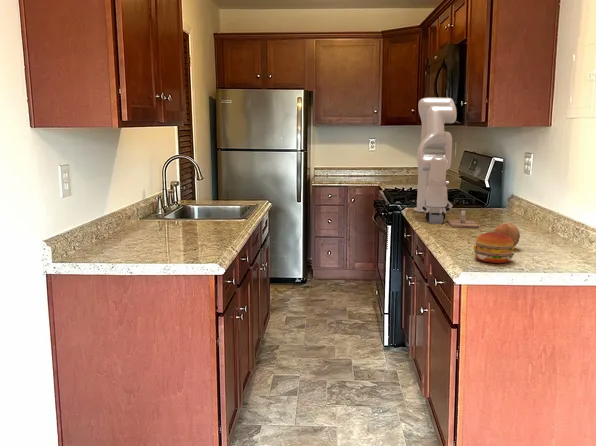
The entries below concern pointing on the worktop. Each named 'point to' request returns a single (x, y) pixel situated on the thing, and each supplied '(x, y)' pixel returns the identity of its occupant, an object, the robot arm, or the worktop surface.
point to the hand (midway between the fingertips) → (435, 220)
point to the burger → (494, 247)
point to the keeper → (462, 222)
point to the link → (435, 218)
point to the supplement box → (434, 210)
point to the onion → (509, 231)
